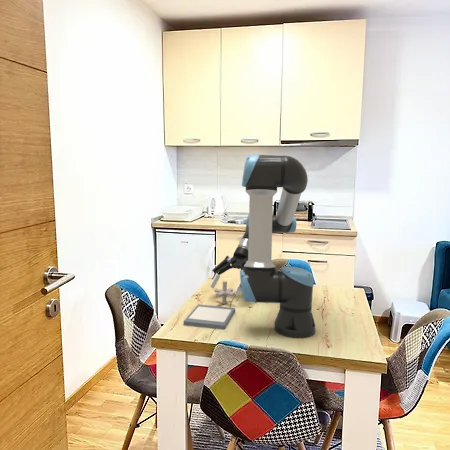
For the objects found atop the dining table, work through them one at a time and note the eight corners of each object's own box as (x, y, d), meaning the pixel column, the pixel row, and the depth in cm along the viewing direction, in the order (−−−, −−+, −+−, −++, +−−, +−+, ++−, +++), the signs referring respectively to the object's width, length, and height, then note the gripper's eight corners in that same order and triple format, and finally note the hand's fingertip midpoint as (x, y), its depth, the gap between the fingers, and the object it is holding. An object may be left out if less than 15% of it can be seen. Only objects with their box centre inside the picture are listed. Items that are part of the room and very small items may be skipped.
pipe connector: (226, 309, 180) (227, 286, 179) (208, 303, 186) (208, 281, 185) (240, 303, 188) (240, 281, 186) (222, 298, 194) (222, 277, 192)
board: (198, 307, 181) (198, 303, 181) (235, 311, 178) (235, 307, 177) (183, 324, 162) (183, 320, 161) (224, 329, 158) (224, 325, 158)
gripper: (270, 259, 191) (251, 300, 182) (225, 251, 206) (205, 288, 196) (264, 250, 186) (244, 291, 177) (219, 242, 201) (198, 280, 191)
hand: (223, 290), depth 186 cm, fingers open, 13 cm apart
